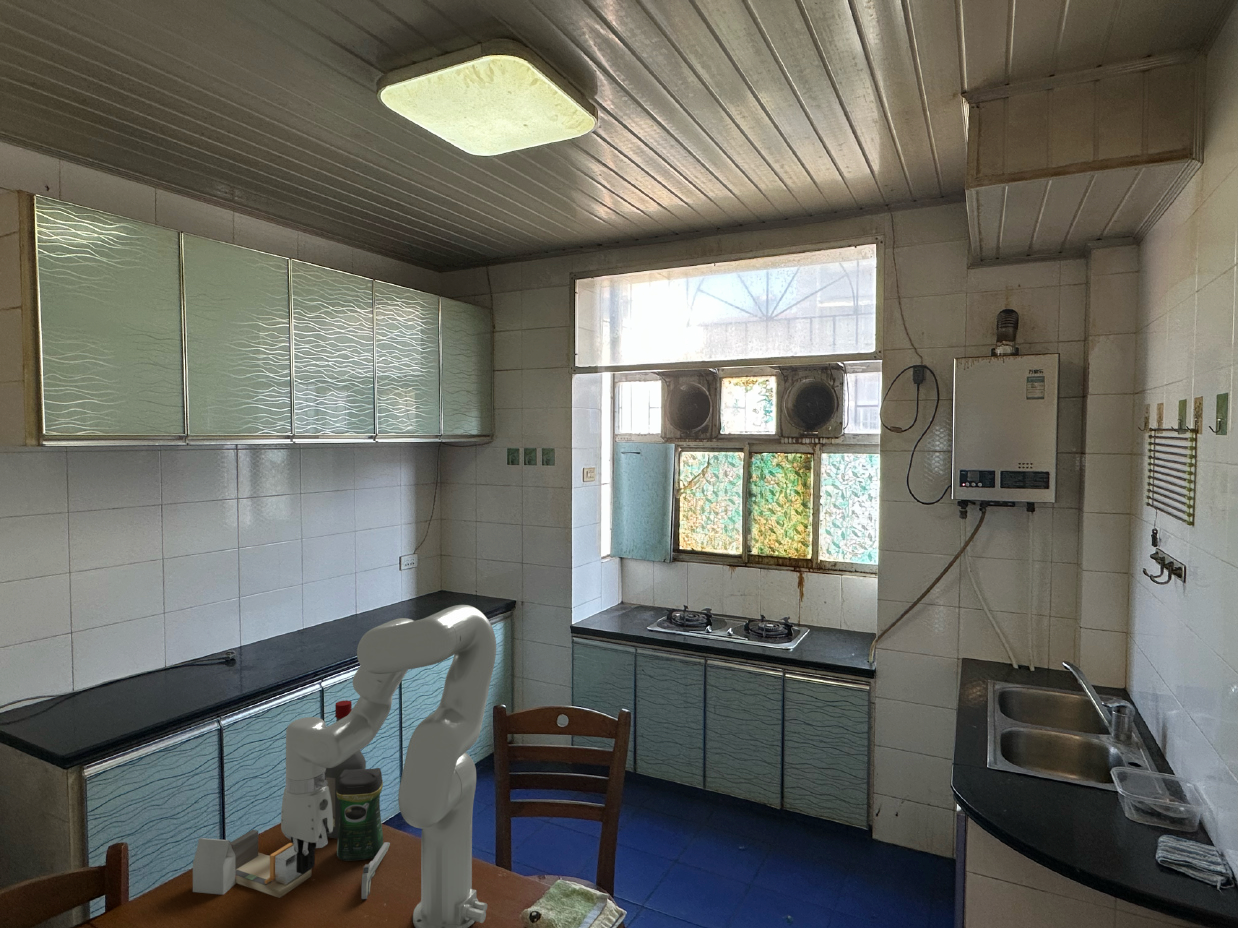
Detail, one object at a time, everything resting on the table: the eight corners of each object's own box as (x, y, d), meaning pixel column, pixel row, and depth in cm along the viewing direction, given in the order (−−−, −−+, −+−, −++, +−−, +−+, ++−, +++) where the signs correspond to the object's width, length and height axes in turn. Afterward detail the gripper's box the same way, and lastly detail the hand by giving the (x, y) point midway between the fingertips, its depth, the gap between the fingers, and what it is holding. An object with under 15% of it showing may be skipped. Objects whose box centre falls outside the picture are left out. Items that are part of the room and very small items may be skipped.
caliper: (366, 901, 141) (367, 870, 141) (361, 901, 141) (361, 870, 141) (390, 845, 162) (390, 817, 161) (385, 845, 161) (385, 818, 161)
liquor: (359, 814, 175) (359, 693, 174) (367, 830, 167) (367, 705, 166) (319, 824, 170) (319, 700, 169) (326, 841, 162) (326, 712, 162)
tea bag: (223, 894, 143) (223, 845, 143) (192, 891, 144) (192, 843, 143) (235, 883, 146) (235, 835, 146) (205, 880, 147) (205, 833, 147)
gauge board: (311, 875, 149) (311, 843, 149) (279, 897, 142) (279, 863, 142) (256, 858, 155) (256, 827, 155) (224, 878, 148) (224, 845, 148)
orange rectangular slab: (293, 866, 149) (293, 843, 149) (267, 884, 143) (267, 859, 143) (289, 865, 149) (289, 842, 149) (263, 882, 143) (263, 858, 143)
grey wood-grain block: (305, 870, 148) (305, 847, 148) (286, 884, 143) (286, 859, 143) (295, 867, 149) (295, 844, 149) (275, 880, 144) (275, 856, 144)
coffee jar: (386, 841, 162) (386, 761, 162) (378, 861, 155) (378, 777, 154) (342, 843, 161) (342, 763, 161) (332, 863, 154) (332, 779, 153)
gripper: (347, 780, 145) (347, 868, 145) (293, 766, 150) (293, 851, 151) (319, 796, 138) (318, 889, 138) (263, 781, 143) (263, 870, 144)
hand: (305, 869), depth 144 cm, fingers closed
